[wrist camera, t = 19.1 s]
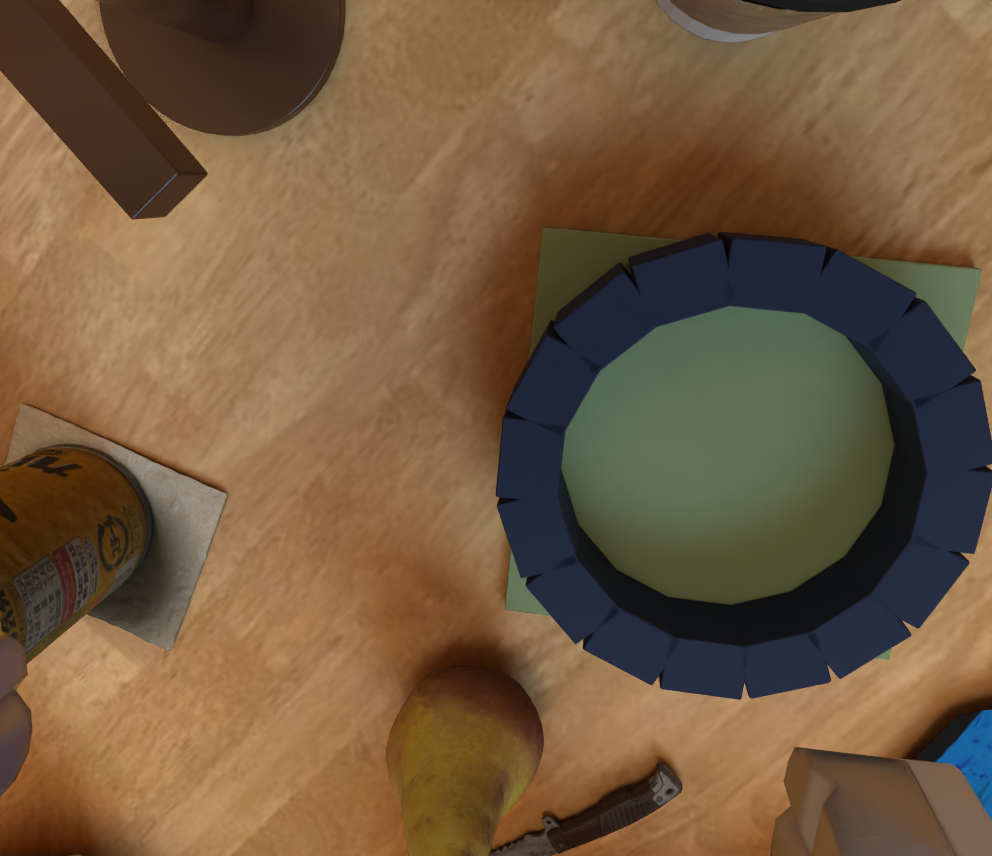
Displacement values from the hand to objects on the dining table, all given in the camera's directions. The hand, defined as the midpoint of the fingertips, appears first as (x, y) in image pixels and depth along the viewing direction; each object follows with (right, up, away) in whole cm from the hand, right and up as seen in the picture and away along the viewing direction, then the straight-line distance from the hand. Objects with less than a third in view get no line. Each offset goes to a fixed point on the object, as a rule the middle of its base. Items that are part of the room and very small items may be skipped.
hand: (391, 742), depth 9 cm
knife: (0, -12, +26) cm, 29 cm away
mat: (+9, +3, +21) cm, 23 cm away
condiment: (-14, -1, +25) cm, 29 cm away
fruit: (0, -7, +25) cm, 26 cm away
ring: (+9, +2, +21) cm, 23 cm away
